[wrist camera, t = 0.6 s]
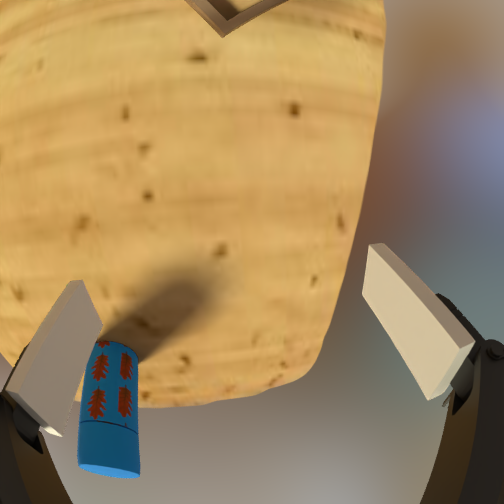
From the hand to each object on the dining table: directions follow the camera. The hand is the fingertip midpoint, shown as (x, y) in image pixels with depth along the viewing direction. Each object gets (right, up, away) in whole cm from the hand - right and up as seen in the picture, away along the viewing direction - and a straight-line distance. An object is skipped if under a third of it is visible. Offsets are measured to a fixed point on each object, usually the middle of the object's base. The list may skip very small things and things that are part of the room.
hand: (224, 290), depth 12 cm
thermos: (-27, -20, +37) cm, 50 cm away
